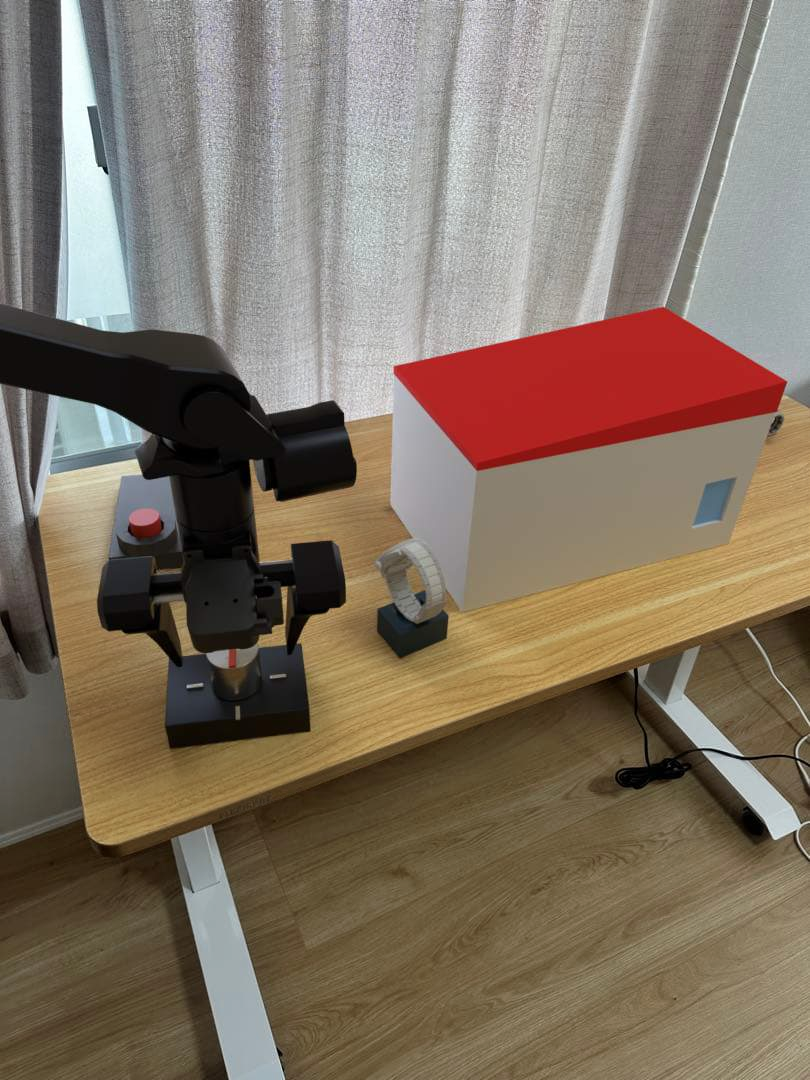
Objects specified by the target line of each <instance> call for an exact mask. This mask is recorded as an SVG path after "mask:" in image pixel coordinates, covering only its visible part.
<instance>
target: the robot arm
mask: <svg viewBox="0 0 810 1080" xmlns="http://www.w3.org/2000/svg"><path fill="white" fill-rule="evenodd" d="M0 385H5V386H9V387H13V388H18V389H21V390H26V391H32V392H35V393H40V394H46V395H49V396H55V397H59V398H64V399H68V400H73V401H77V402H83V403H86V404H87V403H88V404H90V405H91V404H92V405H95V406H98V407H101V408H103V409H106V410H108V411H111V412H114V413H115V414H118V415H119V416H120V417H122V418H124V419H125V420H127V421H129V422H130V423H132V424H133V425H135V426H137V427H139V429H142V430H144V431H145V432H147V433H149V434H150V436H149V437H148V438H147V439H146V440H144V441H143V442H142V443H141V444H140V445H139V446H137V448H136V449H135V450H134V454H135V457H136V460H137V464H138V467H139V469H140V472H141V475H143V478H144V479H146V480H153V479H158V478H163V477H168V476H169V480H170V486H171V491H172V497H173V503H174V509H175V515H176V521H177V527H178V532H179V538H180V544H181V549H182V555H183V561H184V562H183V566H182V567H181V570H180V572H173V573H172V572H171V573H161V574H157V572H158V571H157V566H156V561H155V558H154V557H153V556H148V557H137V558H126V559H115V560H109V559H108V560H107V561H106V563H105V564H104V565H103V566H102V568H101V573H100V579H99V586H98V592H97V598H96V610H97V615H98V619H99V622H100V626H101V628H102V629H103V630H105V631H107V632H118V631H119V632H120V631H121V632H122V633H123V634H125V635H139V634H145V635H147V636H148V637H149V638H150V639H151V640H152V641H153V642H155V643H156V644H157V646H158V647H159V648H160V649H161V650H162V652H164V653H165V655H166V656H167V657H168V659H169V658H170V659H171V661H172V662H173V663H174V664H175V665H176V666H177V667H182V663H183V658H182V656H183V651H182V642H181V640H180V636H179V632H178V628H177V625H176V621H175V619H174V615H173V611H172V608H171V604H170V603H178V602H184V603H185V606H186V607H185V610H186V612H185V613H186V614H185V615H186V628H187V630H188V635H189V637H190V638H189V639H190V641H191V644H192V647H193V649H194V650H195V651H197V652H198V653H199V654H206V653H212V652H214V651H221V650H230V649H248V648H251V647H253V646H254V645H256V643H258V642H259V640H260V636H263V635H264V636H266V635H273V628H274V627H275V626H283V625H284V624H285V626H284V632H285V633H284V635H285V636H284V637H285V645H286V647H287V655H292V653H293V651H294V649H295V646H296V644H298V641H299V640H300V636H301V635H302V632H303V631H304V628H305V626H306V625H307V623H308V622H309V620H310V618H311V617H312V616H318V615H325V614H327V613H328V612H329V611H330V610H331V609H332V610H333V609H340V608H342V607H343V606H344V605H345V604H346V603H347V586H346V575H345V571H344V566H343V561H342V556H341V551H340V546H339V545H338V544H337V543H335V542H334V541H333V540H332V539H329V540H328V539H327V540H318V541H317V540H316V541H307V542H296V543H295V542H294V543H290V554H291V555H290V556H291V558H289V559H280V560H270V561H260V551H259V542H258V541H259V540H258V533H257V522H256V513H255V512H256V511H255V502H254V501H255V500H254V493H253V492H254V491H253V482H252V474H251V463H250V461H251V460H252V464H253V469H254V473H255V476H256V480H257V483H258V485H259V489H260V490H261V491H262V492H263V493H265V492H270V491H273V496H274V499H275V501H276V502H280V503H285V502H289V501H294V500H298V499H303V498H307V497H312V496H317V495H322V494H326V493H330V492H331V493H332V492H336V491H340V490H346V489H350V488H353V487H354V486H355V484H356V482H357V476H358V475H357V473H358V465H357V459H356V458H355V457H354V452H353V448H352V442H351V439H350V436H349V433H348V429H347V428H346V424H345V422H346V421H345V412H344V411H343V409H342V408H341V407H340V406H339V404H338V403H337V402H336V401H335V400H334V399H331V400H327V401H321V402H317V403H314V404H312V405H310V406H306V407H300V408H295V409H294V408H293V409H289V410H283V411H277V412H272V413H266V412H265V410H264V409H263V407H262V405H261V403H260V401H258V398H257V397H256V396H255V395H253V394H251V393H250V392H249V391H248V388H247V386H246V385H245V383H244V382H243V380H242V378H241V376H240V374H239V373H238V371H237V370H236V368H235V366H234V365H233V363H232V361H231V359H230V358H229V356H228V355H227V353H226V351H225V350H224V349H223V347H222V346H221V345H220V344H219V343H217V342H216V341H215V340H214V339H211V338H210V337H208V336H206V335H201V334H196V333H188V332H179V331H171V330H162V329H143V330H135V331H134V330H133V331H126V332H125V331H123V332H120V331H110V330H102V329H98V328H95V327H91V326H87V325H83V324H80V323H77V322H73V321H68V320H65V319H61V318H57V317H54V316H50V315H45V314H42V313H39V312H35V311H31V310H28V309H24V308H20V307H17V306H12V305H8V304H6V303H5V304H4V303H1V302H0ZM282 588H287V589H286V590H287V592H286V609H285V610H286V611H285V618H284V607H283V593H282Z"/></svg>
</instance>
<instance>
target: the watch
mask: <svg viewBox="0 0 810 1080" xmlns="http://www.w3.org/2000/svg"><path fill="white" fill-rule="evenodd" d="M412 566H414V568H415V569H416V572H417V573H418V575H419V577H420V580H421V583H422V585H423V586H424V590H421V591H419V592H416V593H414V592H413V589H412V587H411V584H410V581H409V577H408V573H407V570H409V569H411V568H412ZM374 567H375V569H376V570H377V571H379V572H380V576H381V577H382V579H384V581H385V585H386V587H387V590H388V593H389V595H390V597H391V600H392V602H391V603H388V604H386V605H383V606H380V607H378V608H377V610H376V611H377V613H376V615H377V616H376V632H377V633H378V635H379V636H380V637H381V639H383V641H384V642H385V643H386V645H388V647H389V648H390V649H391V650H392V651H393V653H394V654H395V655H396V656H397V658H398V659H402V658H405V657H407V656H410V655H412V654H414V653H416V652H419V651H421V650H423V649H425V648H428V647H430V646H433V645H435V644H438V643H440V642H442V641H444V640H446V639H447V638H448V630H449V629H448V628H449V616H450V615H449V614H448V613H447V612H446V611H445V610H444V609H445V607H446V604H447V600H448V599H446V598H447V589H446V585H445V580H444V576H443V572H442V570H440V569H441V566H440V564H439V562H438V560H437V558H436V556H435V555H434V553H433V552H432V550H431V549H430V548H429V547H428V546H427V543H426V542H425V541H422V539H421V538H408V539H405V540H403V541H401V542H399V543H396V544H394V545H393V546H391V547H389V548H387V549H386V550H385V551H384V552H382V553H381V554H380V555H379V556H377V558H376V560H375V562H374Z"/></svg>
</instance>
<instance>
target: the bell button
mask: <svg viewBox="0 0 810 1080" xmlns="http://www.w3.org/2000/svg"><path fill="white" fill-rule="evenodd" d="M128 520H129V525H130V529H131V533H132V535H133V536H134V537H138V538H147V537H152V536H154V535H157V534H159V533H160V532H161V530H162V526H161V520H160V515H159V513H158V512H157V511H156V510H154V509H140V510H137V511H135V512H133V513H132V514H131V515H130V516H129V519H128Z"/></svg>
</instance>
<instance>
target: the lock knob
mask: <svg viewBox="0 0 810 1080" xmlns="http://www.w3.org/2000/svg"><path fill="white" fill-rule="evenodd" d="M259 648H260V646H259V643H258V642H257V643H256V645H254V646H253V647H251V648H248V649H230V650H221V651H214V652H212V653H205V654H206V656H207V662H208V668H209V674H210V681H211V686H212V690H213V691H214V693H215V694H216V695H217V696H218V697H220V698H222V699H225V700H230V701H237V700H242V699H245V698H248V697H250V696H252V695H253V694H254V693H256V692H257V691H258V689H259V688H260V686H261V684H262V673H261V663H260V654H259Z"/></svg>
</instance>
